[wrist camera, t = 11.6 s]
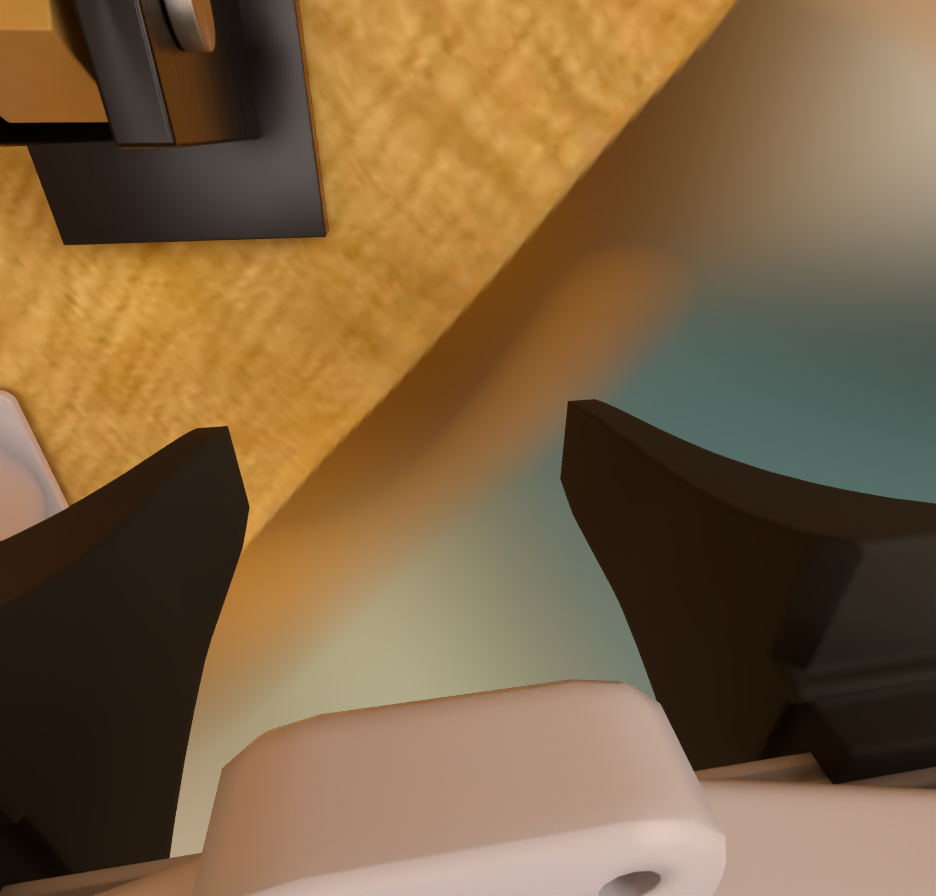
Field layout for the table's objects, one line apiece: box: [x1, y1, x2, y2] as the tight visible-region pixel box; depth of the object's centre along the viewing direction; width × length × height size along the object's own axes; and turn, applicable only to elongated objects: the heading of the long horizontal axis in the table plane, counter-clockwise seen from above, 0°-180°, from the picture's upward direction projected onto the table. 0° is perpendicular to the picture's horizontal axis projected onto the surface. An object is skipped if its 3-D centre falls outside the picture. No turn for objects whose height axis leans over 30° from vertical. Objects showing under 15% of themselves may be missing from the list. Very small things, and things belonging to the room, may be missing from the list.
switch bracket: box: [0, 0, 329, 245], centre depth 12 cm, size 10×8×9 cm
